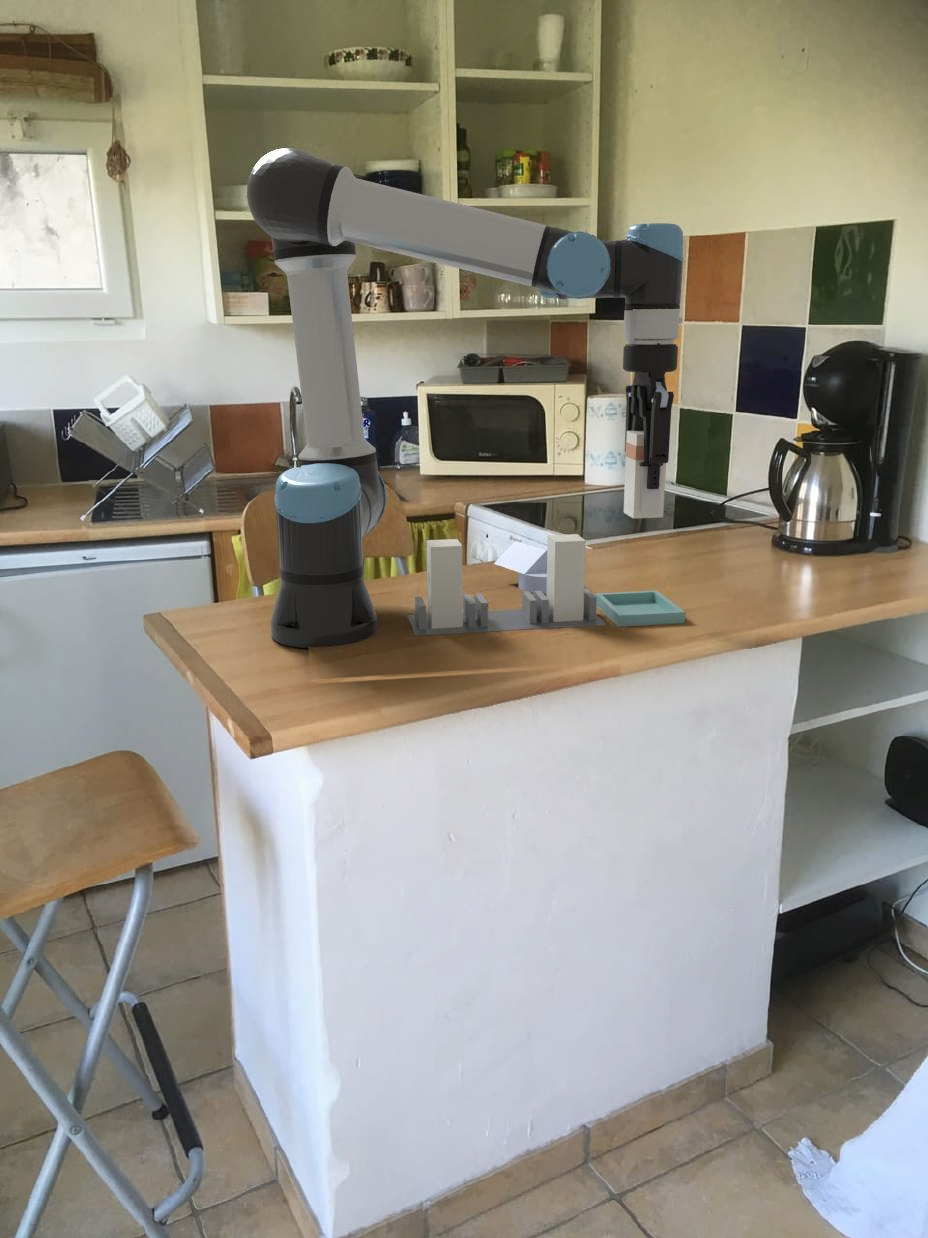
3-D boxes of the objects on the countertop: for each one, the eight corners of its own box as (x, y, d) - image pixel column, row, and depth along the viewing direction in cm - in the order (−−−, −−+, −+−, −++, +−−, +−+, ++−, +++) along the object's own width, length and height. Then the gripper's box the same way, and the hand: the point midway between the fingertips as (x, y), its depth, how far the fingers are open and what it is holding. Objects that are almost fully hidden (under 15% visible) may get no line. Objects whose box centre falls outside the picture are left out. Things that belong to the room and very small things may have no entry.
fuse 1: (431, 628, 146) (430, 547, 143) (427, 619, 151) (426, 540, 147) (462, 626, 147) (462, 545, 144) (457, 617, 151) (457, 539, 148)
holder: (415, 638, 144) (414, 611, 142) (407, 618, 153) (406, 592, 152) (606, 628, 148) (607, 601, 147) (587, 608, 157) (588, 583, 156)
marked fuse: (633, 518, 147) (636, 434, 143) (623, 512, 151) (626, 430, 147) (663, 517, 147) (667, 433, 144) (652, 511, 152) (656, 429, 148)
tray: (618, 629, 147) (619, 615, 147) (594, 606, 159) (595, 593, 158) (684, 625, 149) (685, 612, 148) (656, 603, 160) (657, 590, 160)
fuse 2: (553, 621, 149) (555, 541, 146) (546, 613, 154) (547, 535, 150) (583, 620, 150) (585, 540, 146) (575, 611, 154) (577, 534, 151)
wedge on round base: (493, 583, 173) (540, 600, 162) (493, 544, 171) (541, 559, 160) (535, 575, 177) (584, 591, 167) (536, 537, 175) (585, 551, 165)
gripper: (700, 344, 134) (690, 518, 141) (655, 340, 151) (647, 496, 158) (646, 344, 133) (638, 520, 140) (606, 340, 150) (601, 497, 157)
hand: (643, 507), depth 149 cm, fingers closed on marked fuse, 4 cm apart
